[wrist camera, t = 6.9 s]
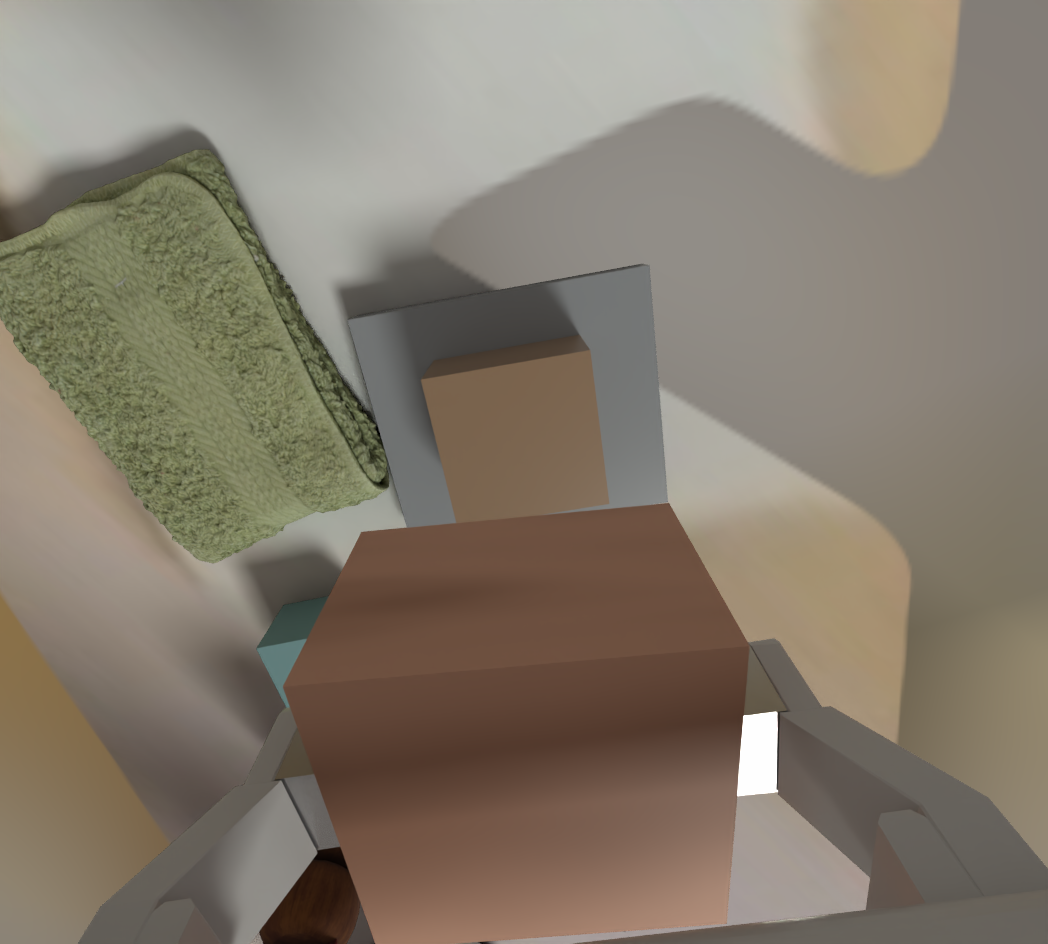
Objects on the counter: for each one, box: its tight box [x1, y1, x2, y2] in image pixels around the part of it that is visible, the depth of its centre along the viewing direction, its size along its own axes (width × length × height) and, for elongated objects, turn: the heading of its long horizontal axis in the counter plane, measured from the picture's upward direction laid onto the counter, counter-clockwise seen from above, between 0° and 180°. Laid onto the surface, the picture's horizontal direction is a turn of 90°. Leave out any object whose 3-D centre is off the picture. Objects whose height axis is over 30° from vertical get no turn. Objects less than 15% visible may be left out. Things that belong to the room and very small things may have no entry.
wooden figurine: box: [260, 847, 360, 944], centre depth 31 cm, size 7×6×15 cm
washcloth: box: [0, 149, 389, 563], centre depth 27 cm, size 13×18×3 cm
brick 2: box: [283, 503, 750, 944], centre depth 10 cm, size 6×6×4 cm
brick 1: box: [256, 596, 329, 708], centre depth 32 cm, size 5×5×4 cm
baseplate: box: [347, 264, 668, 528], centre depth 26 cm, size 12×14×6 cm
